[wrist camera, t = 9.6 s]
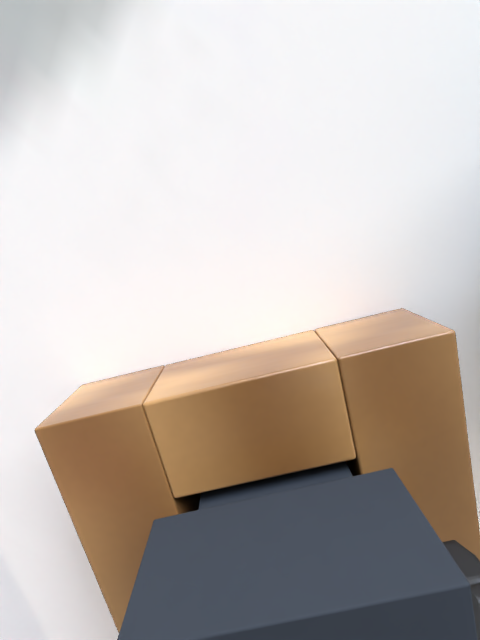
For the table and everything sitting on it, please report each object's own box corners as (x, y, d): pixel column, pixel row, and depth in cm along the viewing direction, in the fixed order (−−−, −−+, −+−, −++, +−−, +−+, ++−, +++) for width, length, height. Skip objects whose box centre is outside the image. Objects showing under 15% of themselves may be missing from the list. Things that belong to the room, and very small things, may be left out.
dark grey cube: (221, 591, 13) (206, 875, 7) (174, 449, 12) (110, 654, 6) (383, 558, 13) (504, 827, 7) (354, 408, 12) (471, 584, 6)
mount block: (223, 764, 17) (219, 877, 14) (81, 384, 12) (33, 429, 10) (465, 721, 16) (516, 829, 13) (403, 307, 12) (456, 329, 9)
